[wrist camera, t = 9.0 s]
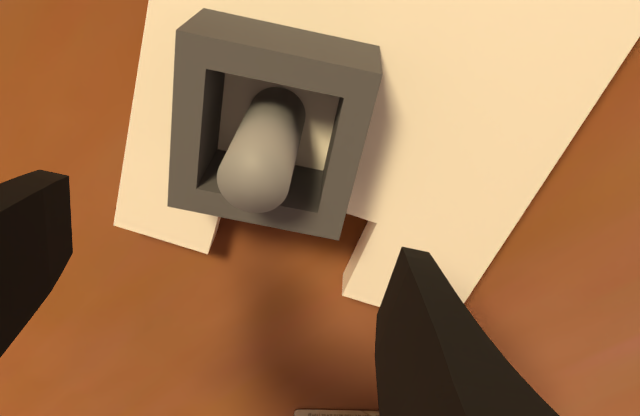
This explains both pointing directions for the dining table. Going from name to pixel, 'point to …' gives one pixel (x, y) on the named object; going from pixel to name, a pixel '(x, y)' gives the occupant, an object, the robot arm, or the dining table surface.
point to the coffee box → (334, 413)
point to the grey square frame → (281, 68)
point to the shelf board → (392, 122)
